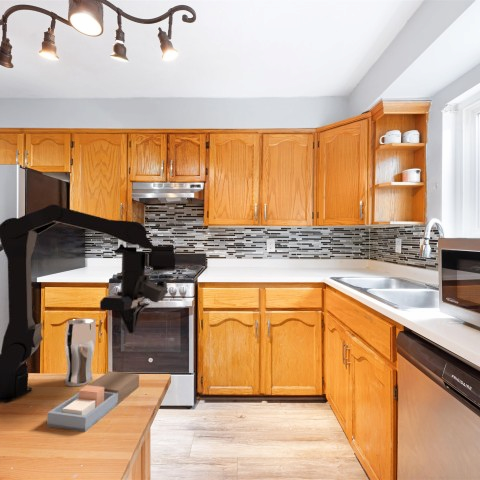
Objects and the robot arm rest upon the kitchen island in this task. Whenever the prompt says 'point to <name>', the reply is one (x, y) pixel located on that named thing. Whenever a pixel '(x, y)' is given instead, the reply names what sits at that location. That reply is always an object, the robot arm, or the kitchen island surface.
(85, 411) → the cream tile
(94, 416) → the slate tray
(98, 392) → the terracotta tile
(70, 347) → the beer glass
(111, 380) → the dark walnut board
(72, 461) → the kitchen island surface
